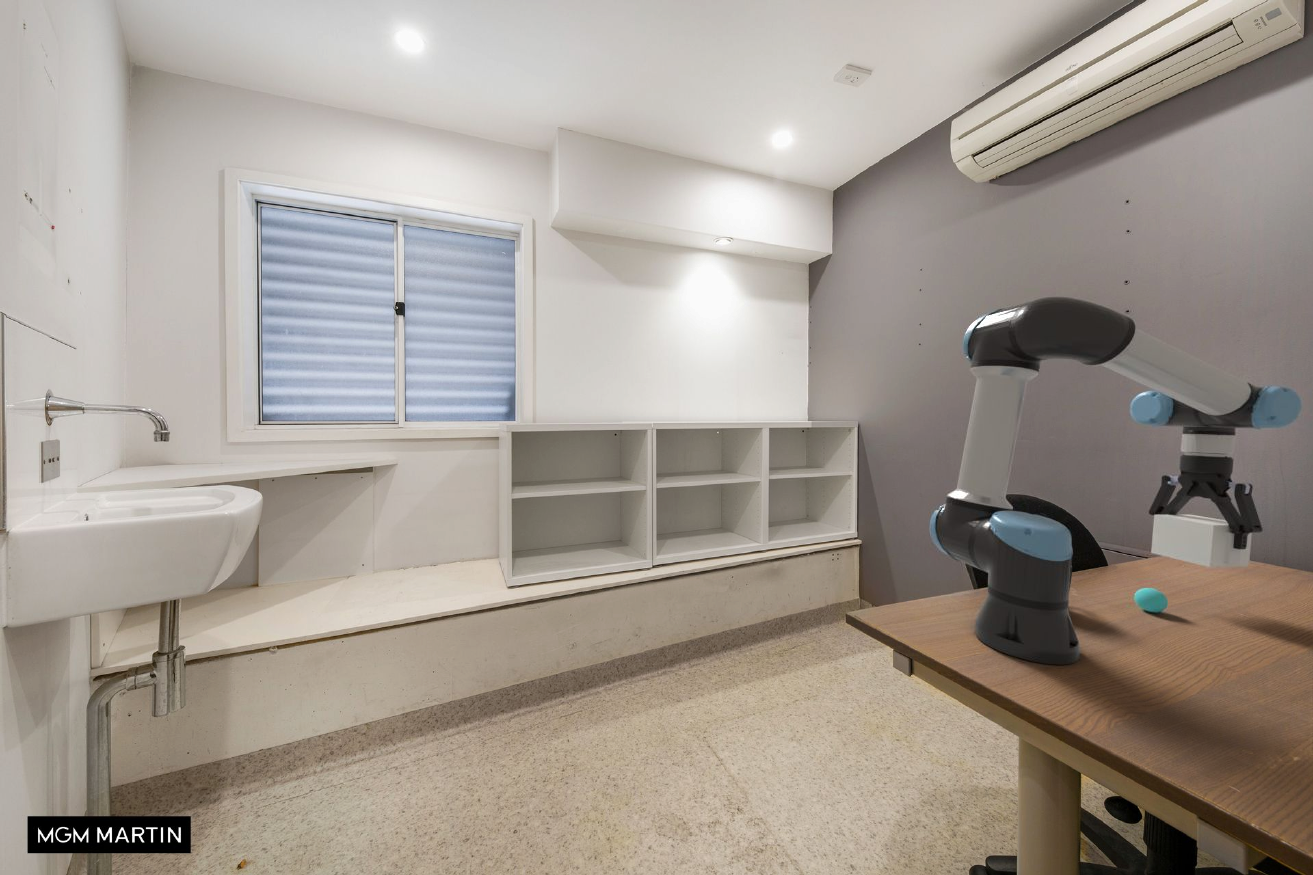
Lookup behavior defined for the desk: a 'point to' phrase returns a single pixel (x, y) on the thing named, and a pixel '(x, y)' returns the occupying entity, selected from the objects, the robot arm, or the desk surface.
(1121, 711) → the desk surface
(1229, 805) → the desk surface
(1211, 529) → the white rectangular brick
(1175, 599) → the desk surface
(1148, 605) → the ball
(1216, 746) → the desk surface
